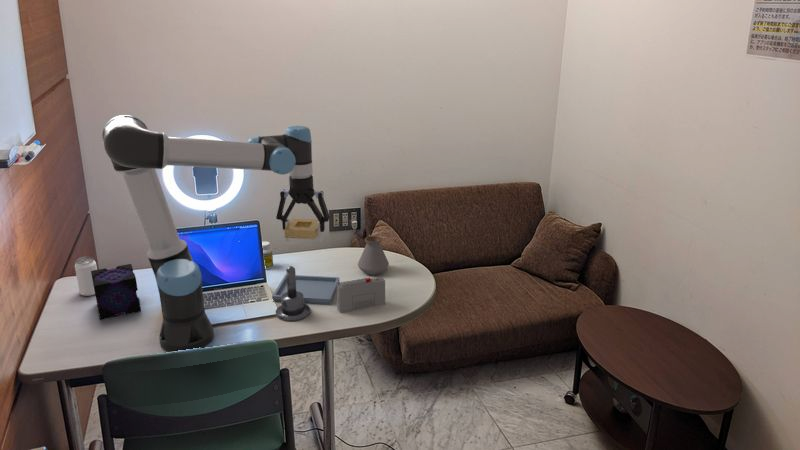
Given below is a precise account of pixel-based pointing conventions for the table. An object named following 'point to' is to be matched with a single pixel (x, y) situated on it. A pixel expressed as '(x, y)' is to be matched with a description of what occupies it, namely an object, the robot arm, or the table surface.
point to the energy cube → (115, 291)
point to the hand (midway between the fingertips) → (304, 239)
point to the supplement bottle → (267, 255)
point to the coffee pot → (373, 255)
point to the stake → (292, 301)
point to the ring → (302, 229)
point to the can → (85, 275)
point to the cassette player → (360, 294)
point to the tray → (310, 288)
